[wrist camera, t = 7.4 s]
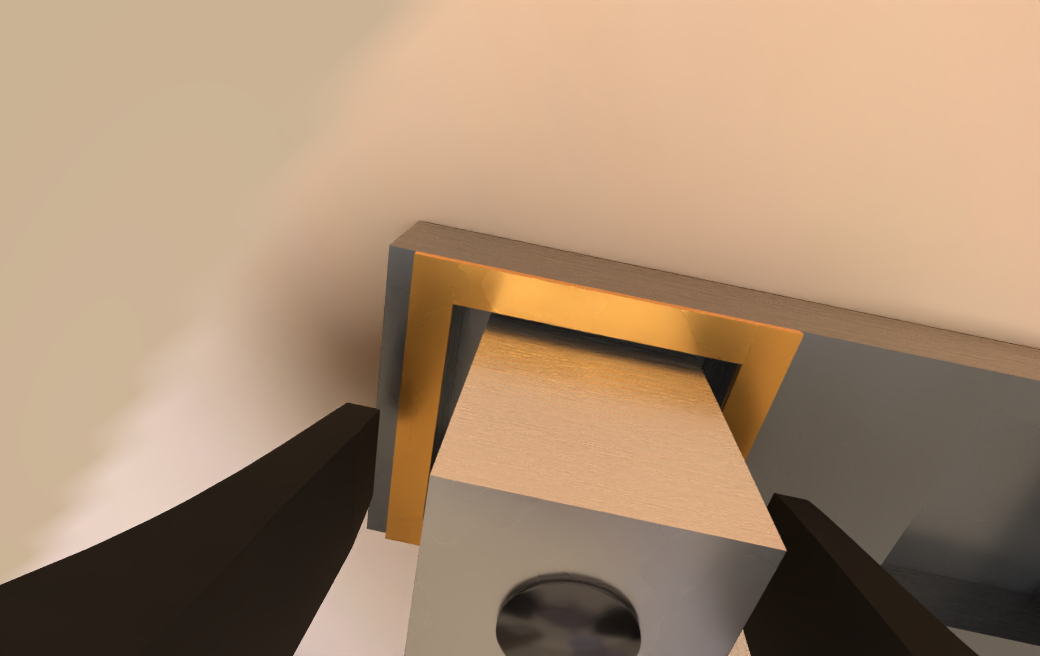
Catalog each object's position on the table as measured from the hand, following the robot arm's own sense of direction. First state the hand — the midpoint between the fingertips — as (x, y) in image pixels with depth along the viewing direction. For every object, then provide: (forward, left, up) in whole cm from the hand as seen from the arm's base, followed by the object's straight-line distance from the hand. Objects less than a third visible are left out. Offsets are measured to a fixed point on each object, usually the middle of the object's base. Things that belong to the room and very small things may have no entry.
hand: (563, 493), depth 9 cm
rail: (0, -5, -3) cm, 6 cm away
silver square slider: (0, 0, -3) cm, 3 cm away
